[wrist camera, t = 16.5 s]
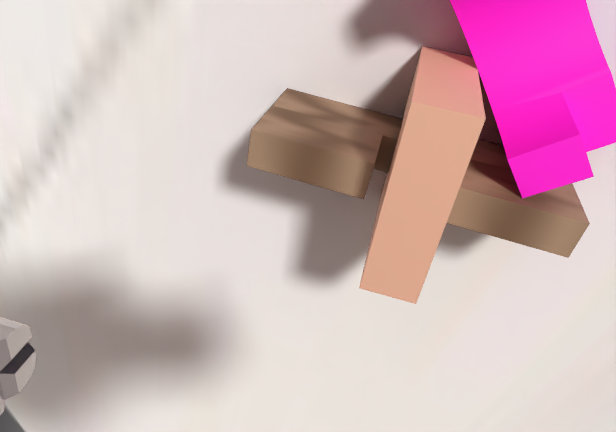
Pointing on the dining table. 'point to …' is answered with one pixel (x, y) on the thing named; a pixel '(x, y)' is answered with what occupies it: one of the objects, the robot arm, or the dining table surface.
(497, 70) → the toy block
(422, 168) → the tan notched block
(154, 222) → the dining table surface
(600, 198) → the dining table surface
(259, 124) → the walnut rail
